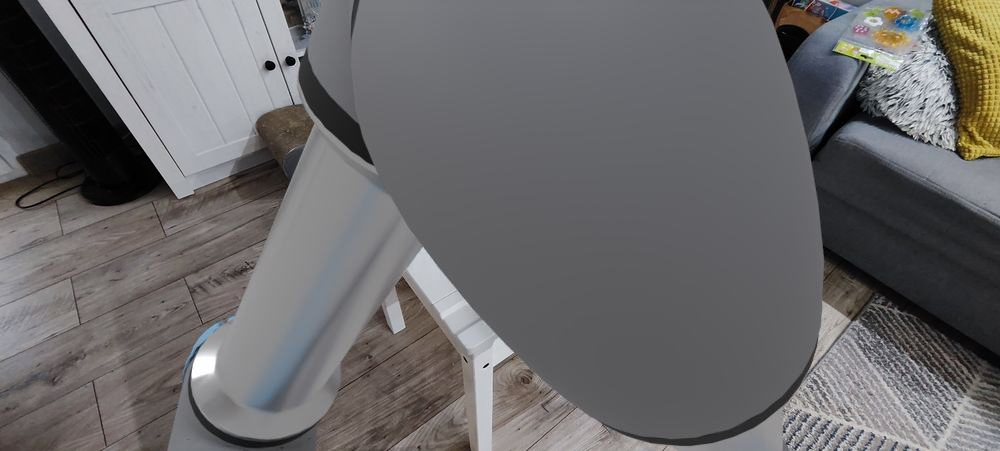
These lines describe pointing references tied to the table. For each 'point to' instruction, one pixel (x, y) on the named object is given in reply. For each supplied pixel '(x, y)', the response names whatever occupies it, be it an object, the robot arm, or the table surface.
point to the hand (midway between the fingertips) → (469, 213)
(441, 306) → the table surface
